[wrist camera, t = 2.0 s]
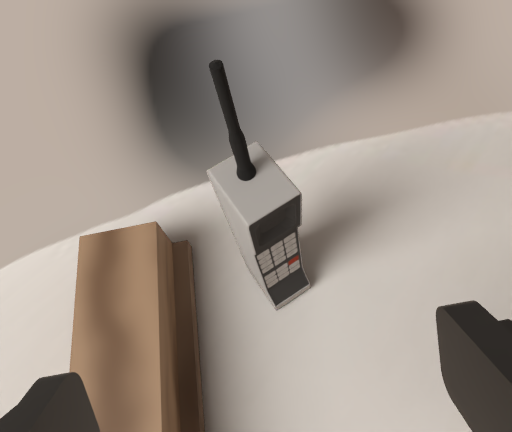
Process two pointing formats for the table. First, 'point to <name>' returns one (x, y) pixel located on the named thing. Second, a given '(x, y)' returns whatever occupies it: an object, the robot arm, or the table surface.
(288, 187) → the vintage mobile phone
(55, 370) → the table surface
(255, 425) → the table surface
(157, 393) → the walnut ridge
